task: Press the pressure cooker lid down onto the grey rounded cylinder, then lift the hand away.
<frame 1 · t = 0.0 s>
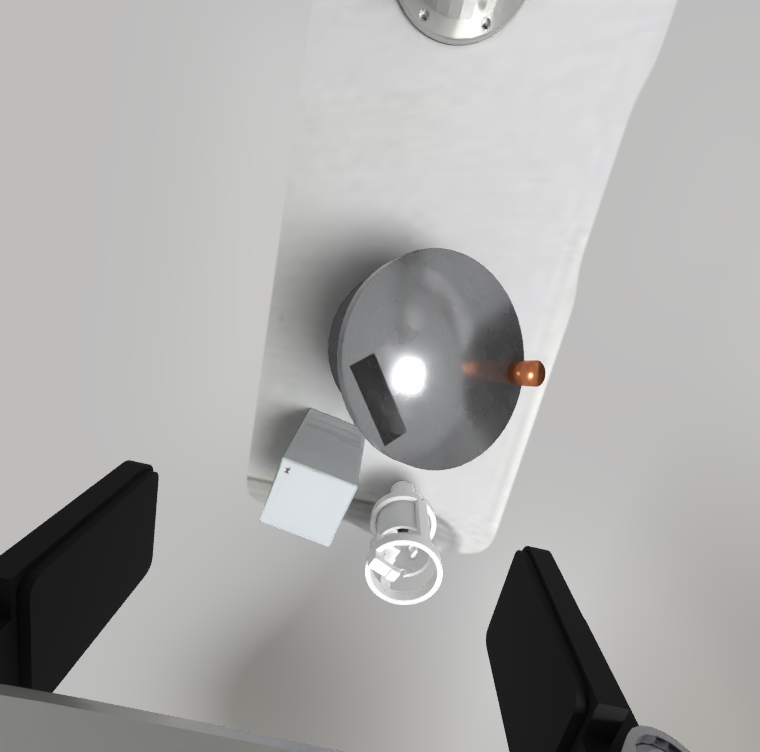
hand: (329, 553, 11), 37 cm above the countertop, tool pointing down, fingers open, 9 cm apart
white caged cylinder: (402, 491, 52), on the countertop
pressure cooker lid: (448, 360, 31), point 16 cm above the countertop, hinge at 35.0°
grey rounded cylinder: (411, 332, 47), on the countertop
supplement box: (328, 444, 51), on the countertop
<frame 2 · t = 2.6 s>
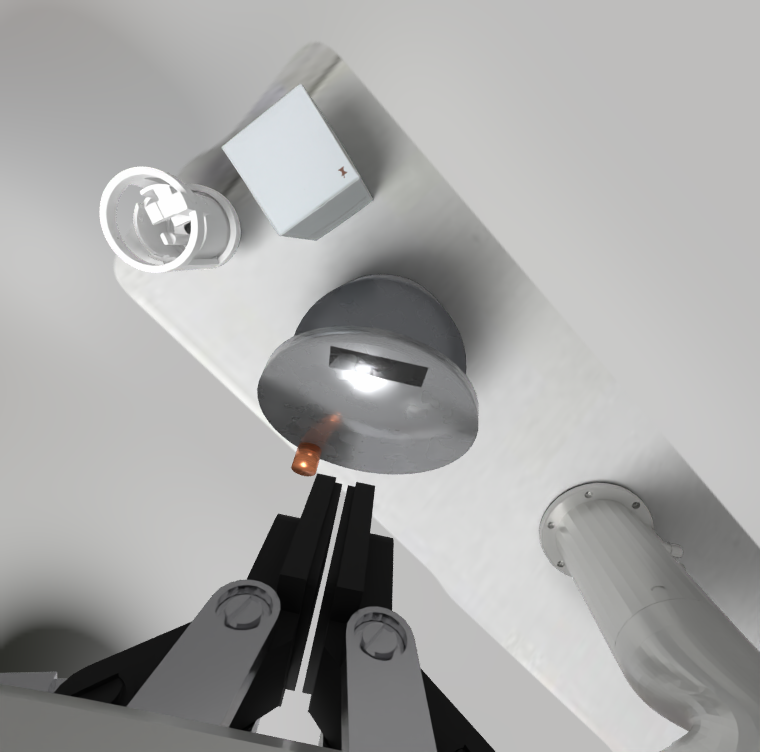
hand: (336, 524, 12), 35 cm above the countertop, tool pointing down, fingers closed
white caged cylinder: (226, 231, 44), on the countertop
pressure cooker lid: (364, 423, 31), point 16 cm above the countertop, hinge at 35.0°
grey rounded cylinder: (382, 345, 46), on the countertop
supplement box: (323, 189, 42), on the countertop
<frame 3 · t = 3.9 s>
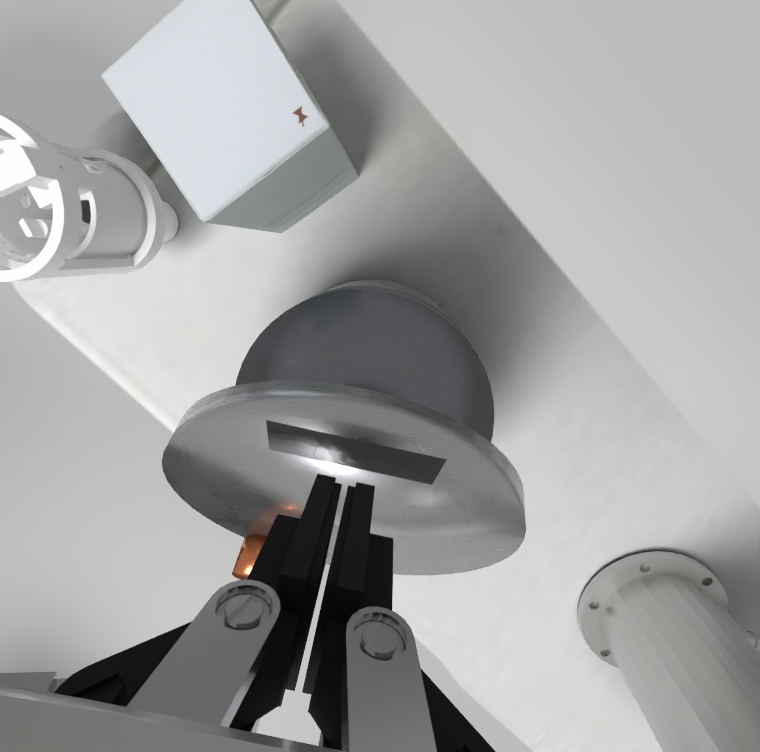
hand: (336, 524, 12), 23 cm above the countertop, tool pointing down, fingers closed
white caged cylinder: (159, 221, 32), on the countertop
pressure cooker lid: (339, 523, 19), point 16 cm above the countertop, hinge at 35.0°
grey rounded cylinder: (372, 374, 34), on the countertop
supplement box: (289, 161, 30), on the countertop
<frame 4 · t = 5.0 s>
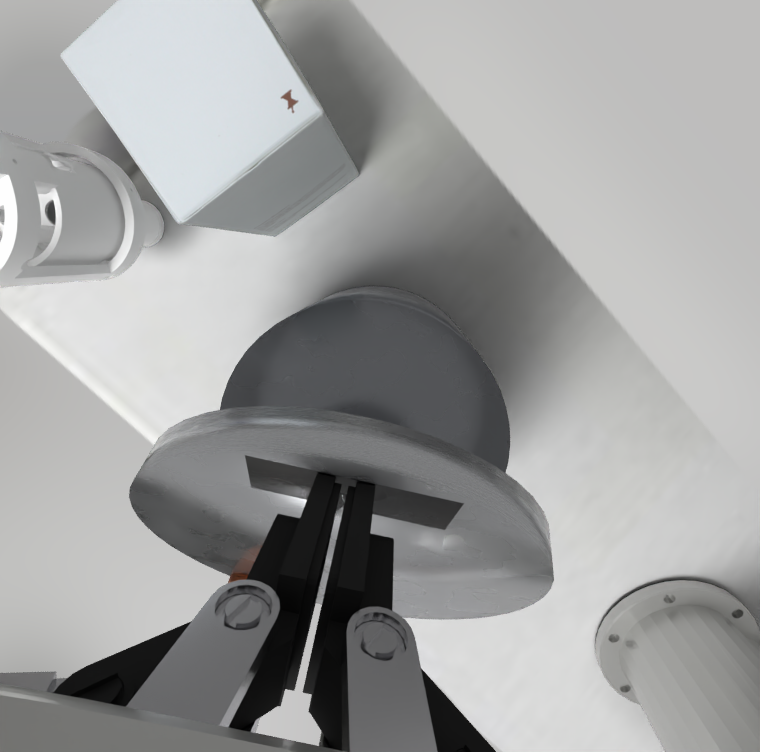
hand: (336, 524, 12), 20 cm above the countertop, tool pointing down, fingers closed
white caged cylinder: (143, 224, 30), on the countertop
pressure cooker lid: (335, 567, 17), point 16 cm above the countertop, hinge at 33.8°, touching gripper
grey rounded cylinder: (374, 389, 32), on the countertop
supplement box: (284, 159, 28), on the countertop
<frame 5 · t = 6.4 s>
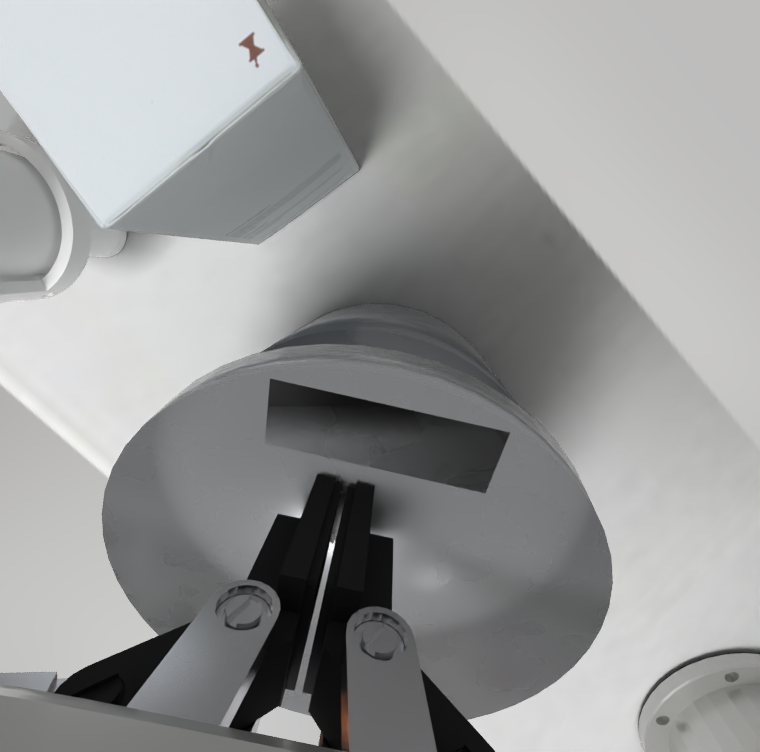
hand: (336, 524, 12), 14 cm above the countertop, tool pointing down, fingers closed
white caged cylinder: (103, 229, 25), on the countertop
pressure cooker lid: (343, 599, 14), point 14 cm above the countertop, hinge at 12.2°, touching gripper
grey rounded cylinder: (377, 425, 27), on the countertop
supplement box: (269, 151, 23), on the countertop
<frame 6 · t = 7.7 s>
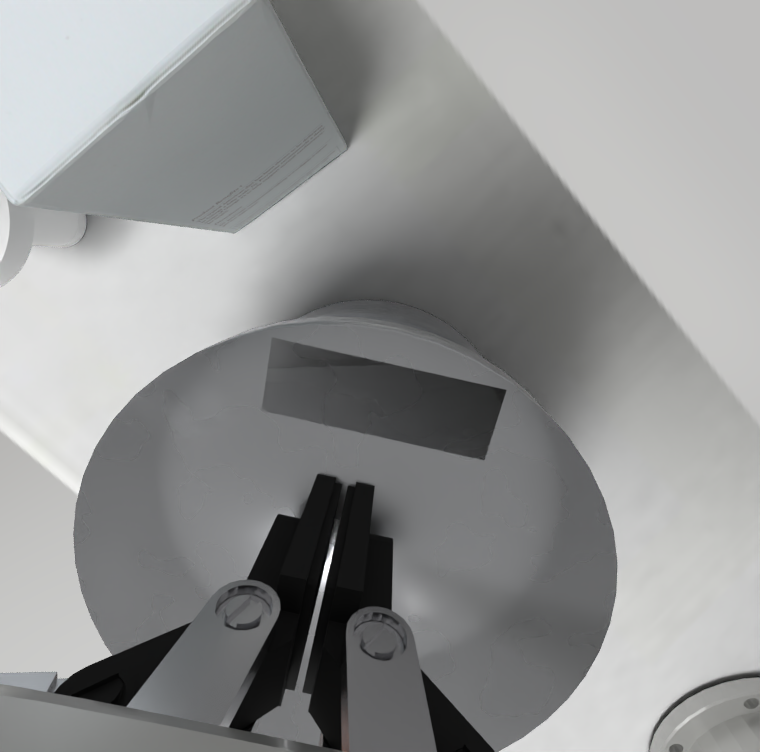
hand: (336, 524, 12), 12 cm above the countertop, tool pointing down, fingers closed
white caged cylinder: (60, 216, 22), on the countertop
pressure cooker lid: (335, 599, 12), point 12 cm above the countertop, hinge at 0.7°, touching gripper
grey rounded cylinder: (369, 434, 24), on the countertop
supplement box: (245, 127, 21), on the countertop
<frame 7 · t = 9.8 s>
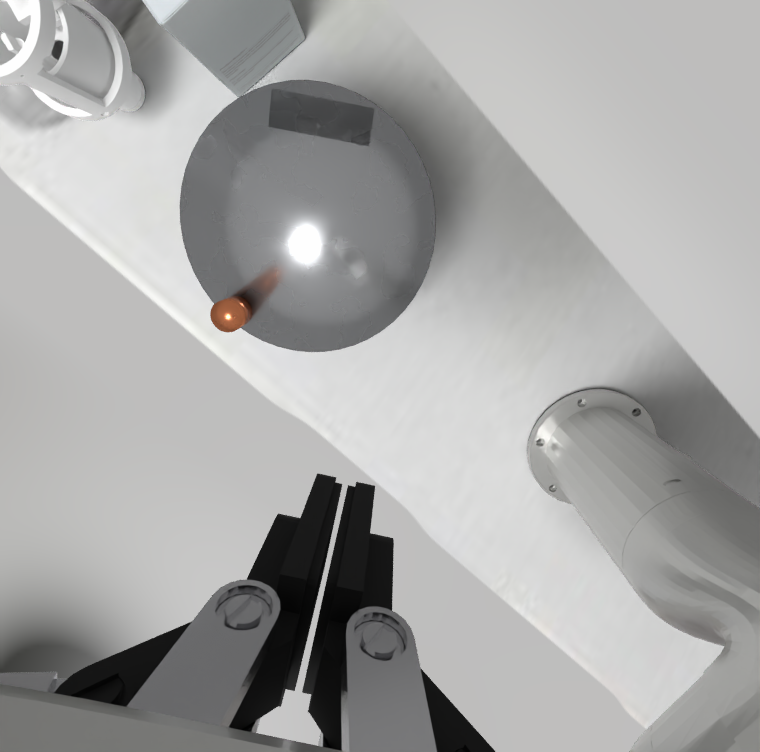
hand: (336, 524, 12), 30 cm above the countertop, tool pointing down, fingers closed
white caged cylinder: (127, 91, 35), on the countertop
pressure cooker lid: (307, 228, 27), point 12 cm above the countertop, hinge at 0.5°
supplement box: (243, 28, 34), on the countertop
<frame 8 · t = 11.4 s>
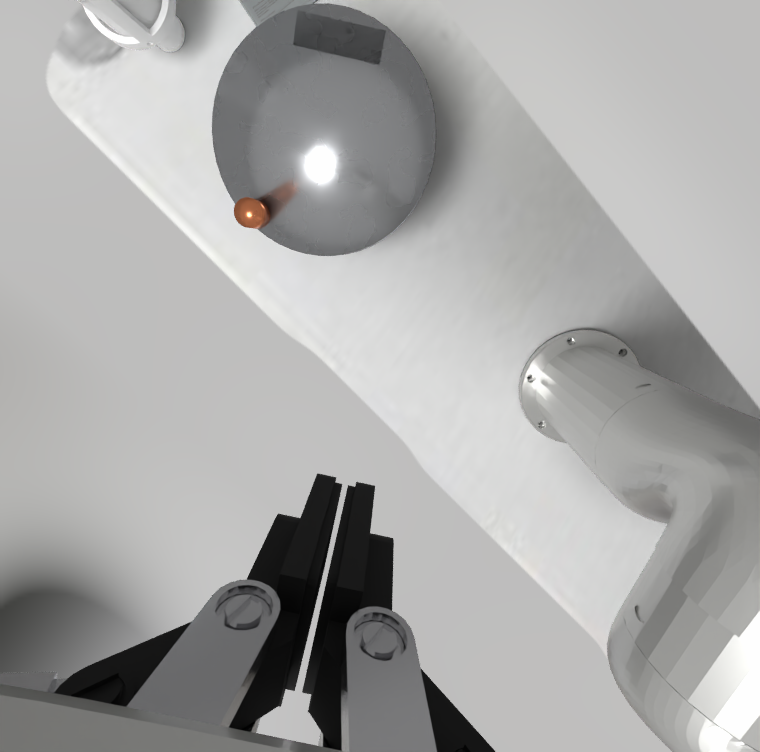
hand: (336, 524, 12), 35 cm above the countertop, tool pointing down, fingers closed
white caged cylinder: (169, 33, 39), on the countertop
pressure cooker lid: (322, 138, 30), point 12 cm above the countertop, hinge at 0.5°
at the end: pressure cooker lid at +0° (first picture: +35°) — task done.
